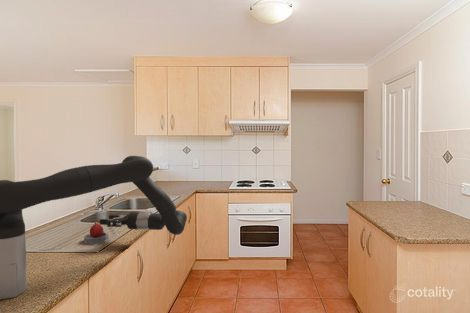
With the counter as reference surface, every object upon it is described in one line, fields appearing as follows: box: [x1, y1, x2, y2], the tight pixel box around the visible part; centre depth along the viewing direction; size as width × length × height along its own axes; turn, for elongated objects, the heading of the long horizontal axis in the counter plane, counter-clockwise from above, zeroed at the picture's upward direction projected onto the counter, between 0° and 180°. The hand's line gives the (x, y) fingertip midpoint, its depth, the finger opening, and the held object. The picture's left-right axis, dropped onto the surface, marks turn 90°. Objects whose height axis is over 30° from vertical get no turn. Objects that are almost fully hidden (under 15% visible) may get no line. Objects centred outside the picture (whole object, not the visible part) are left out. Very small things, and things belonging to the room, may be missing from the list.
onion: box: [89, 221, 105, 238], centre depth 145 cm, size 6×6×8 cm
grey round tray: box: [83, 231, 110, 245], centre depth 146 cm, size 10×10×2 cm
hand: (104, 219), depth 142 cm, fingers open, 8 cm apart
